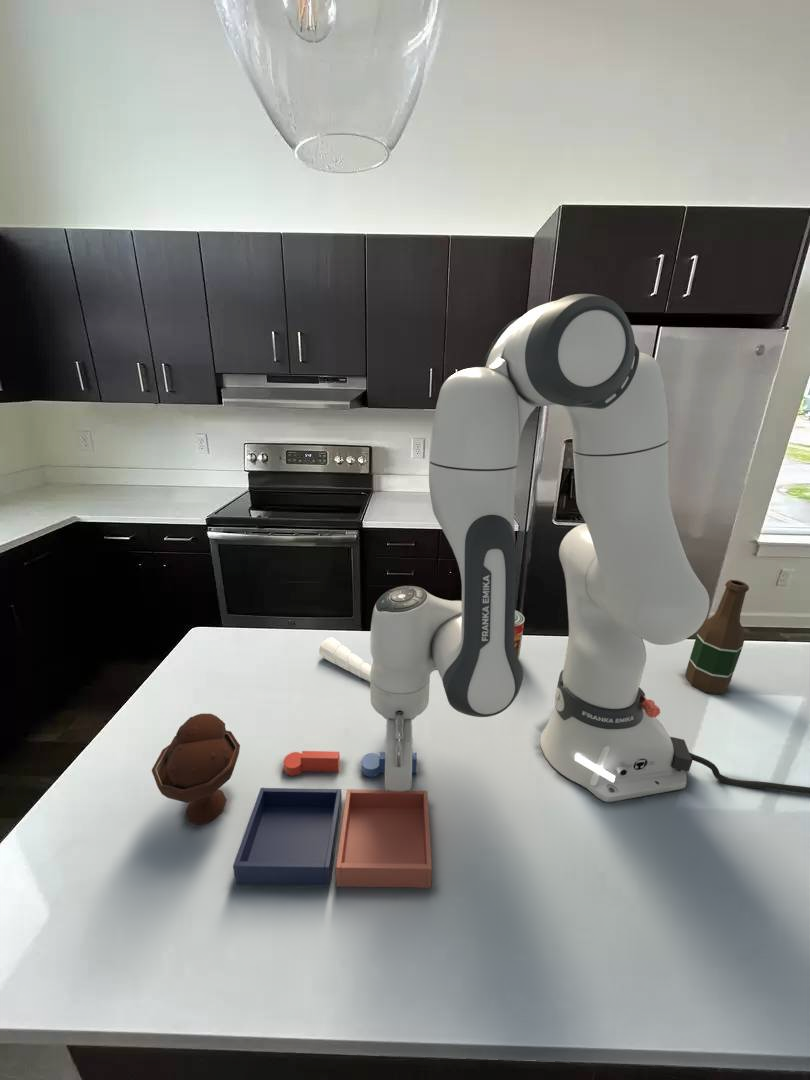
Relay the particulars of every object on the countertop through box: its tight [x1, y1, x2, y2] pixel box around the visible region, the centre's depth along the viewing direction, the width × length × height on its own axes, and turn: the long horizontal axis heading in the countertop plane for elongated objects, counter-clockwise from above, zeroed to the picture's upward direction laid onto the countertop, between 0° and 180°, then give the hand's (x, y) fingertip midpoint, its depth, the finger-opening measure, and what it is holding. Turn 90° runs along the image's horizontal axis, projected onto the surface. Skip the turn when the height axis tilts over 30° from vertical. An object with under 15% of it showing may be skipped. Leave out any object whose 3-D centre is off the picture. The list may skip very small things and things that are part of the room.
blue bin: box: [232, 787, 343, 887], centre depth 57 cm, size 12×11×4 cm
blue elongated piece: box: [360, 751, 418, 778], centre depth 69 cm, size 9×3×3 cm, turn 90°
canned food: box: [514, 609, 526, 660], centre depth 95 cm, size 8×8×12 cm
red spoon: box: [283, 750, 341, 777], centre depth 69 cm, size 9×3×3 cm, turn 90°
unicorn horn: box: [318, 636, 372, 683], centre depth 90 cm, size 5×24×5 cm, turn 49°
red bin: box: [335, 788, 433, 889], centre depth 57 cm, size 12×11×4 cm
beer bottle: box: [684, 579, 750, 696], centre depth 87 cm, size 8×8×24 cm
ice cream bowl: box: [151, 713, 241, 826], centre depth 60 cm, size 11×11×15 cm
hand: (398, 759), depth 69 cm, fingers closed on blue elongated piece
